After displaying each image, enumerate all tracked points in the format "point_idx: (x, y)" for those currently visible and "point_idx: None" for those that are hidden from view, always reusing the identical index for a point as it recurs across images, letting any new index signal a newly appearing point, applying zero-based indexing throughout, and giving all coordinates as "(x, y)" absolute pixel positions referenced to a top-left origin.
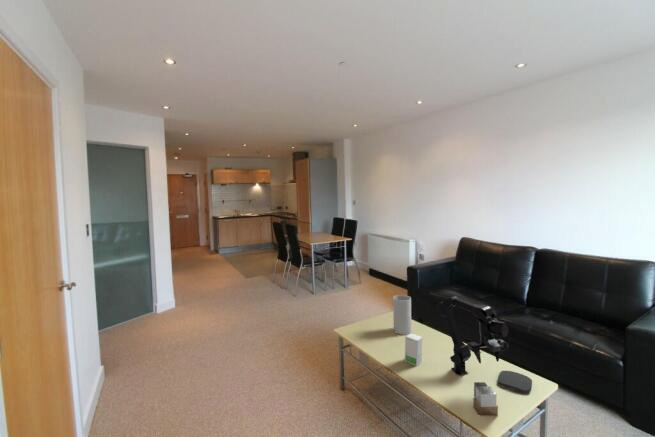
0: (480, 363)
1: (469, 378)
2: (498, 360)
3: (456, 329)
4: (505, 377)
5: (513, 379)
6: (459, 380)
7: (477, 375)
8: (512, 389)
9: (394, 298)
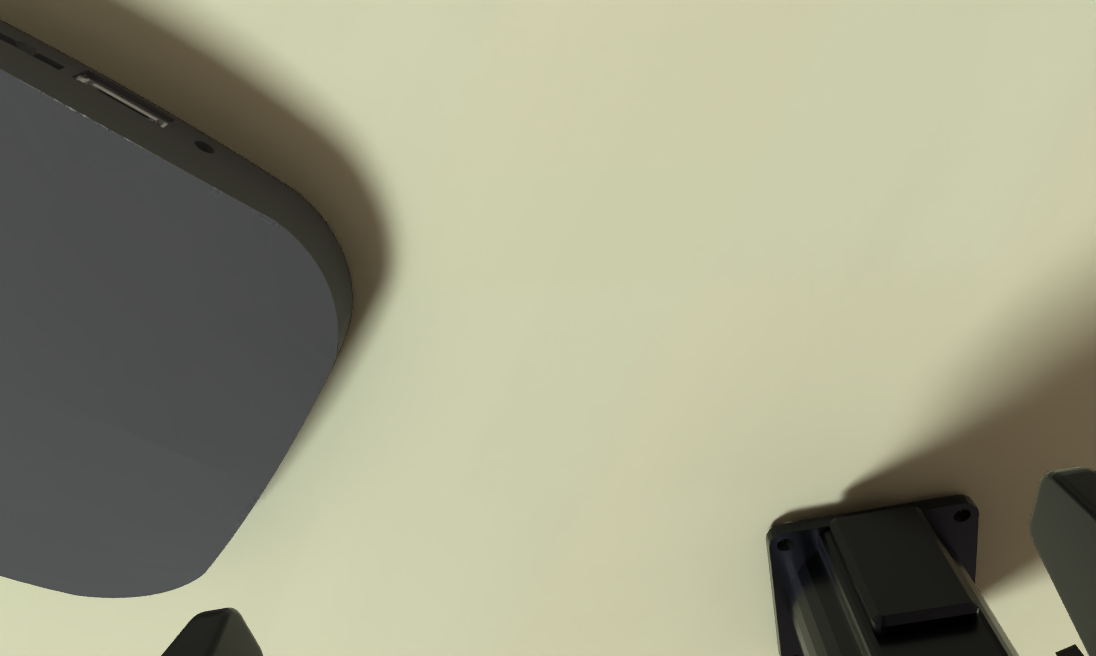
0: (1062, 469)
1: (804, 416)
2: (174, 648)
3: None
4: (167, 398)
5: (18, 339)
6: (1019, 354)
7: (623, 497)
8: (123, 100)
9: None
